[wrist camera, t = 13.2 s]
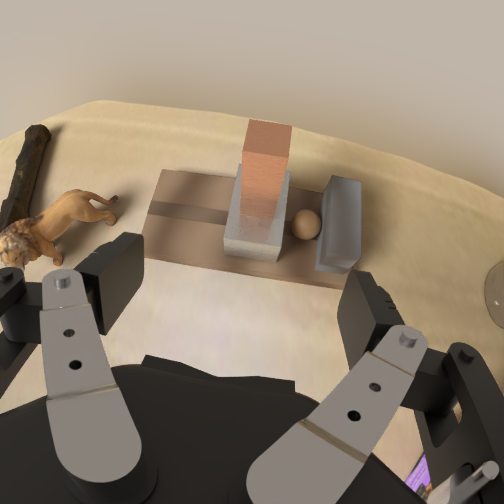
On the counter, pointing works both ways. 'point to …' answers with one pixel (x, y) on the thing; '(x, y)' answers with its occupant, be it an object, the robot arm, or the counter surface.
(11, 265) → the lion figurine
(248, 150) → the block
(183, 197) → the press base
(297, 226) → the hazelnut
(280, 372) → the counter surface
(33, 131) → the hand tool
